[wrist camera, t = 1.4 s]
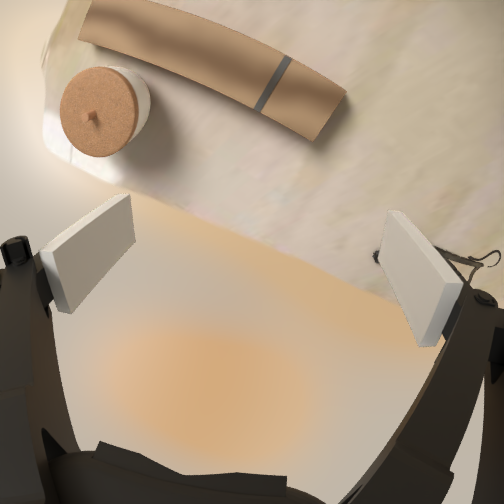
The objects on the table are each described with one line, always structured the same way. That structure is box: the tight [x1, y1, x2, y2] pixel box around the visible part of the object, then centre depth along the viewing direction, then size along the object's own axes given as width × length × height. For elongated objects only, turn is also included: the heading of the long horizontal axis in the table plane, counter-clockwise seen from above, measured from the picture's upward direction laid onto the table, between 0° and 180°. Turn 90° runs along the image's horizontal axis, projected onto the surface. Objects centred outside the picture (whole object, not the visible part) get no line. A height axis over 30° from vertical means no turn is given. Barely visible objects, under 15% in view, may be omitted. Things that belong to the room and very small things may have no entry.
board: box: [78, 0, 347, 142], centre depth 28 cm, size 7×32×3 cm, turn 62°
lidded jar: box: [60, 66, 151, 157], centre depth 30 cm, size 11×11×9 cm
